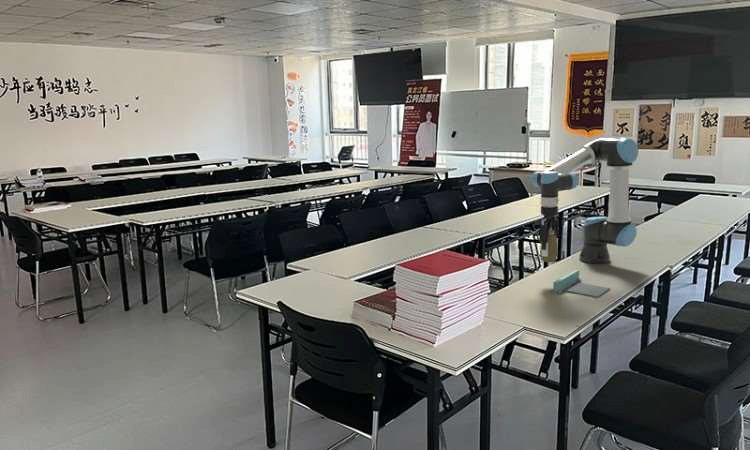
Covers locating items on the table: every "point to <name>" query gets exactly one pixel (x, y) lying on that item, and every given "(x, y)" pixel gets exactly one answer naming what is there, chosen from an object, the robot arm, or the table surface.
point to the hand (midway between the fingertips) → (549, 253)
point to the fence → (565, 282)
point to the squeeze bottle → (550, 247)
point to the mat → (588, 290)
